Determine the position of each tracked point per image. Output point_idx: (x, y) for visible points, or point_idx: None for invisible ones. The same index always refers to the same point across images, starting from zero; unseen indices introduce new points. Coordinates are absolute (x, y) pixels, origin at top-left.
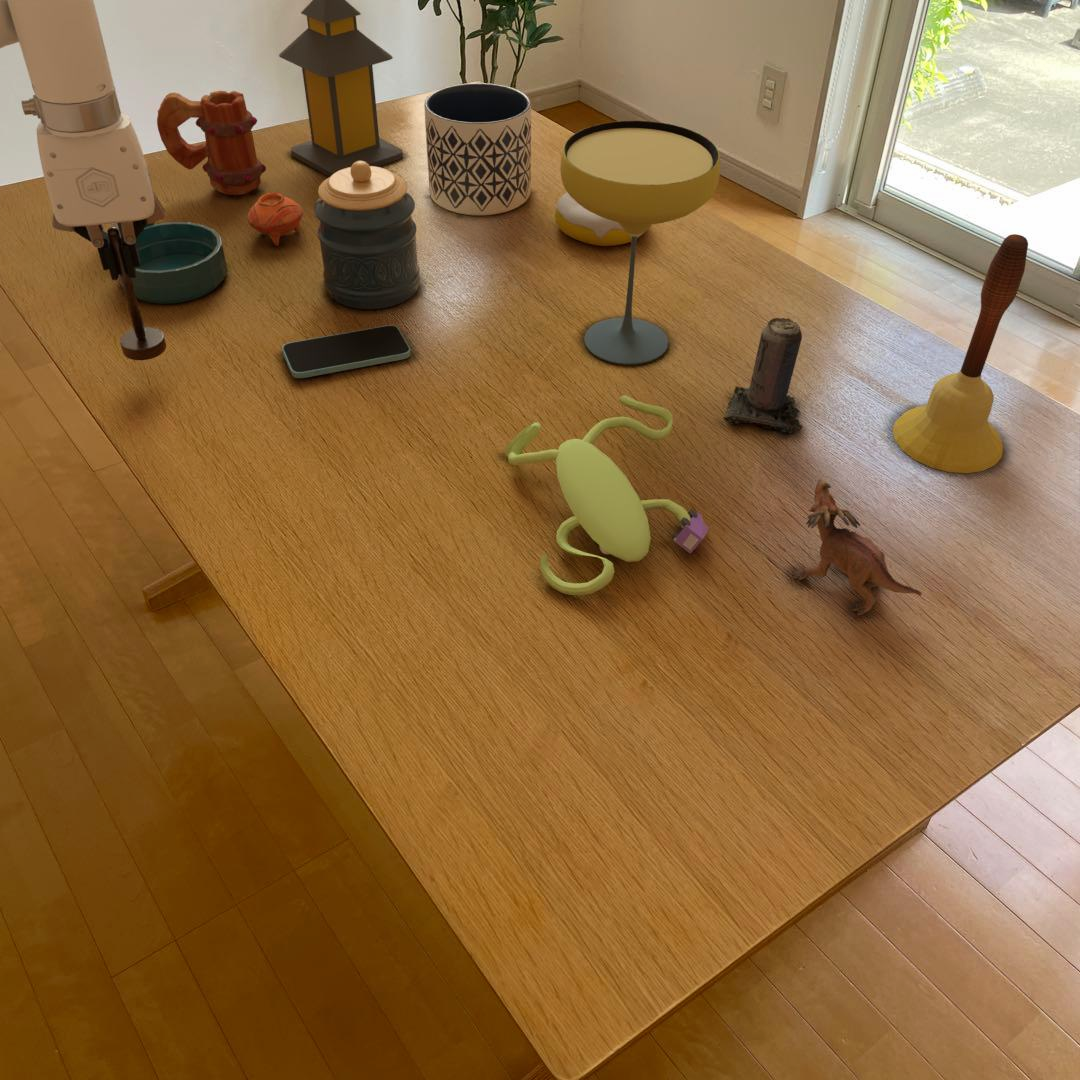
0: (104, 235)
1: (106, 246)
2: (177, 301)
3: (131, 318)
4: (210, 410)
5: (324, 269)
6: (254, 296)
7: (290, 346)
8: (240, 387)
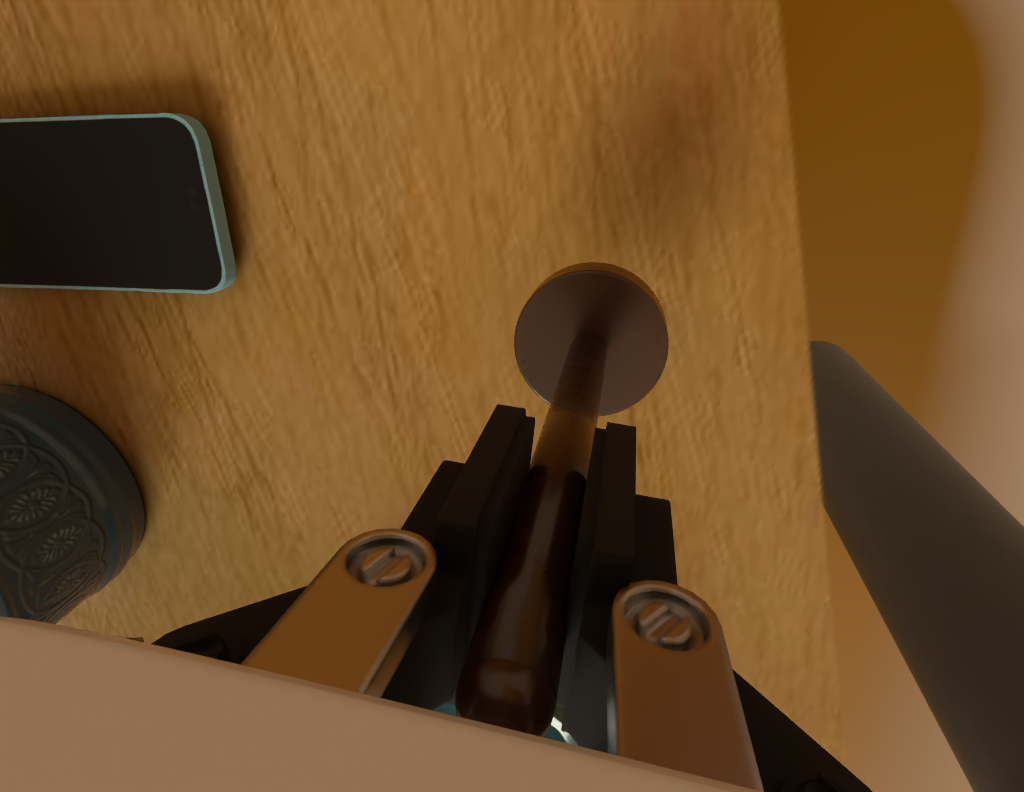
0: (588, 695)
1: (602, 582)
2: None
3: (600, 372)
4: (459, 51)
5: (90, 536)
6: (310, 557)
7: (203, 272)
8: (363, 154)
